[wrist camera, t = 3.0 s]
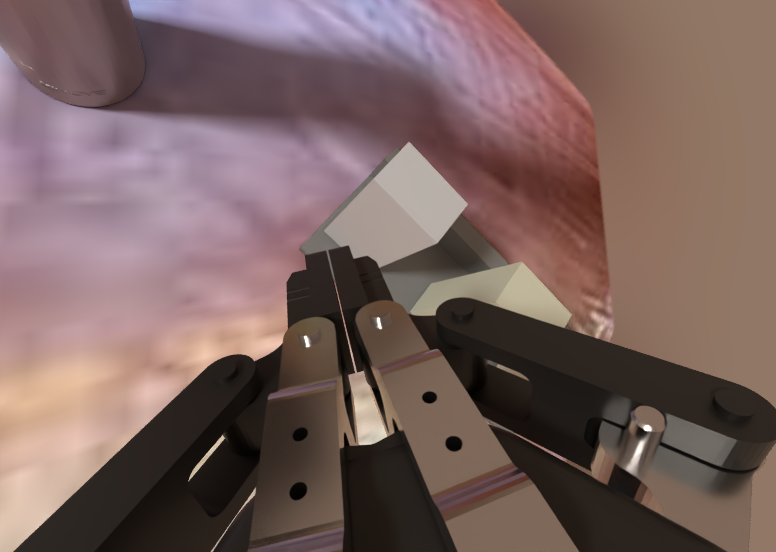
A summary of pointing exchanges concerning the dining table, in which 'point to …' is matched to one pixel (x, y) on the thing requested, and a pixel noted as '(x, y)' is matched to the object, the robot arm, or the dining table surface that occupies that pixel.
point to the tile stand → (422, 257)
